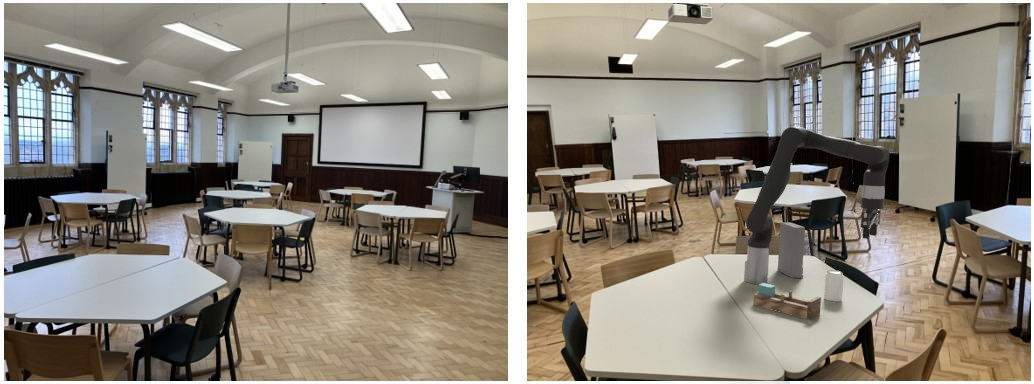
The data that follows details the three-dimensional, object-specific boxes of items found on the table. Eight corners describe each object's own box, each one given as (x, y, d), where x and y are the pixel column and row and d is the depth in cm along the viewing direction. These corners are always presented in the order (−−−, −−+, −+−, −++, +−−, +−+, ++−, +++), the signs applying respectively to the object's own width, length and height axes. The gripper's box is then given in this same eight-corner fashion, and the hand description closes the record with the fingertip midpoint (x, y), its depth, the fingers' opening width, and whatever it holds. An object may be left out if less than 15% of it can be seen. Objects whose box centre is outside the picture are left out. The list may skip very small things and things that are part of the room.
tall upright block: (803, 278, 252) (807, 227, 249) (791, 278, 252) (794, 227, 249) (789, 270, 265) (792, 222, 262) (777, 270, 265) (780, 222, 262)
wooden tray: (753, 304, 214) (754, 288, 213) (763, 300, 219) (764, 284, 219) (809, 320, 197) (811, 302, 196) (819, 314, 202) (821, 297, 201)
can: (844, 302, 216) (846, 274, 215) (827, 301, 217) (829, 273, 216) (838, 297, 222) (840, 270, 221) (821, 296, 224) (823, 269, 222)
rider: (757, 296, 215) (758, 284, 214) (762, 294, 217) (763, 282, 216) (769, 299, 211) (770, 287, 210) (774, 297, 213) (775, 285, 213)
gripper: (867, 194, 213) (864, 233, 215) (855, 197, 204) (852, 237, 206) (889, 196, 207) (886, 236, 209) (877, 199, 198) (874, 240, 200)
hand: (869, 236), depth 207 cm, fingers open, 8 cm apart
